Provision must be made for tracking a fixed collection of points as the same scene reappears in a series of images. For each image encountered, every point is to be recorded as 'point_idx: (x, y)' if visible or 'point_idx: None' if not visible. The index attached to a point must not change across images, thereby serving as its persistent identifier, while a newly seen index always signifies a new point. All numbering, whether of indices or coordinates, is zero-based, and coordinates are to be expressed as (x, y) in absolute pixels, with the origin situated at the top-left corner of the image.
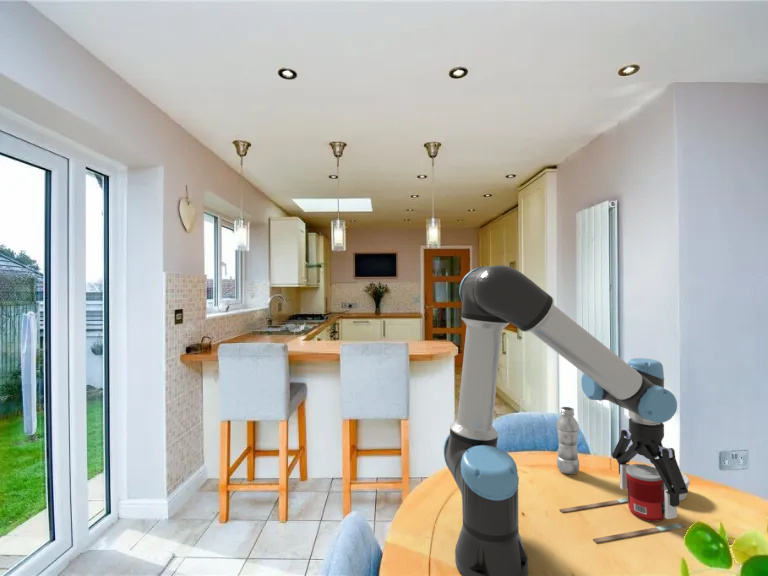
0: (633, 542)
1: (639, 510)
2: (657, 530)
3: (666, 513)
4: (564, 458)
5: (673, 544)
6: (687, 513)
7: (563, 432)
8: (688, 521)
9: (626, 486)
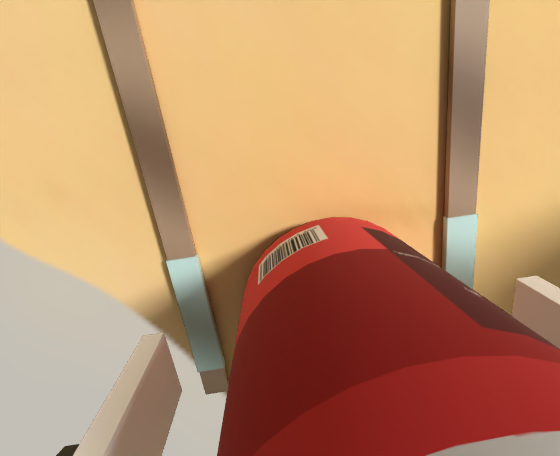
0: (53, 24)
1: (288, 243)
2: (166, 246)
3: (138, 358)
4: None
5: (62, 250)
6: None
7: None
8: None
9: (528, 321)
